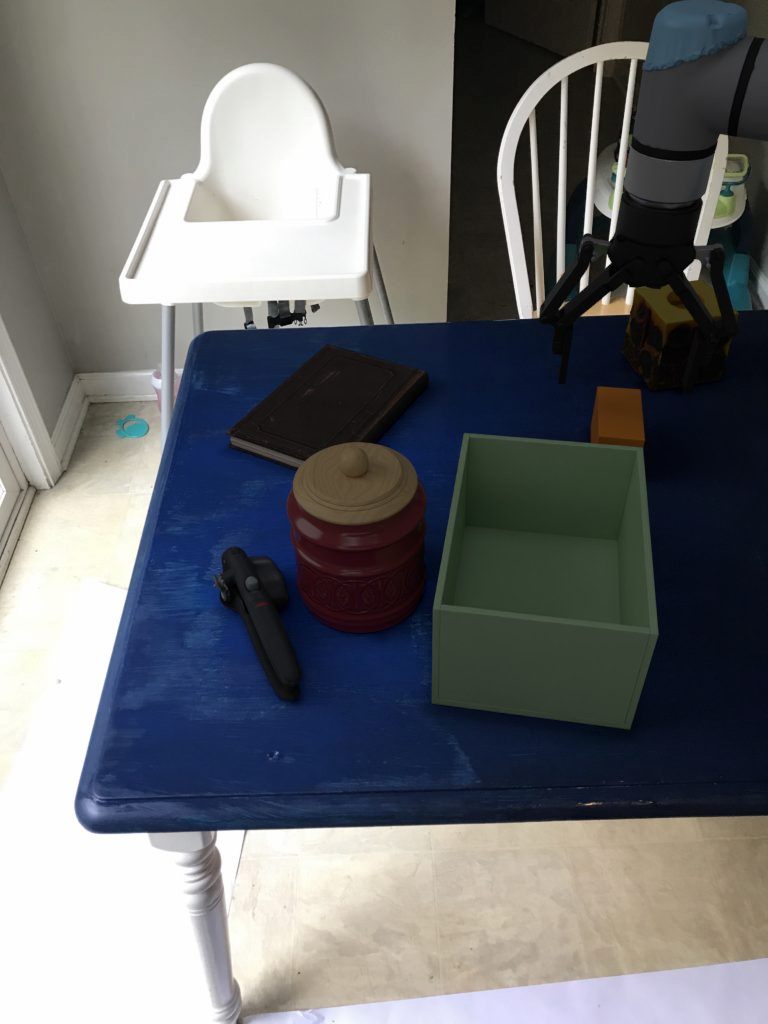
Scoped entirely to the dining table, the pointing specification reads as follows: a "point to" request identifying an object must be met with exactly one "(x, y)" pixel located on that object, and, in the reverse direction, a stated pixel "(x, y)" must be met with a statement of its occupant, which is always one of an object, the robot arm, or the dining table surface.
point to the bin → (546, 582)
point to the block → (618, 417)
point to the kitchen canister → (358, 536)
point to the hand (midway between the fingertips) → (623, 382)
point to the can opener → (261, 615)
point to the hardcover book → (327, 406)
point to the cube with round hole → (669, 337)
